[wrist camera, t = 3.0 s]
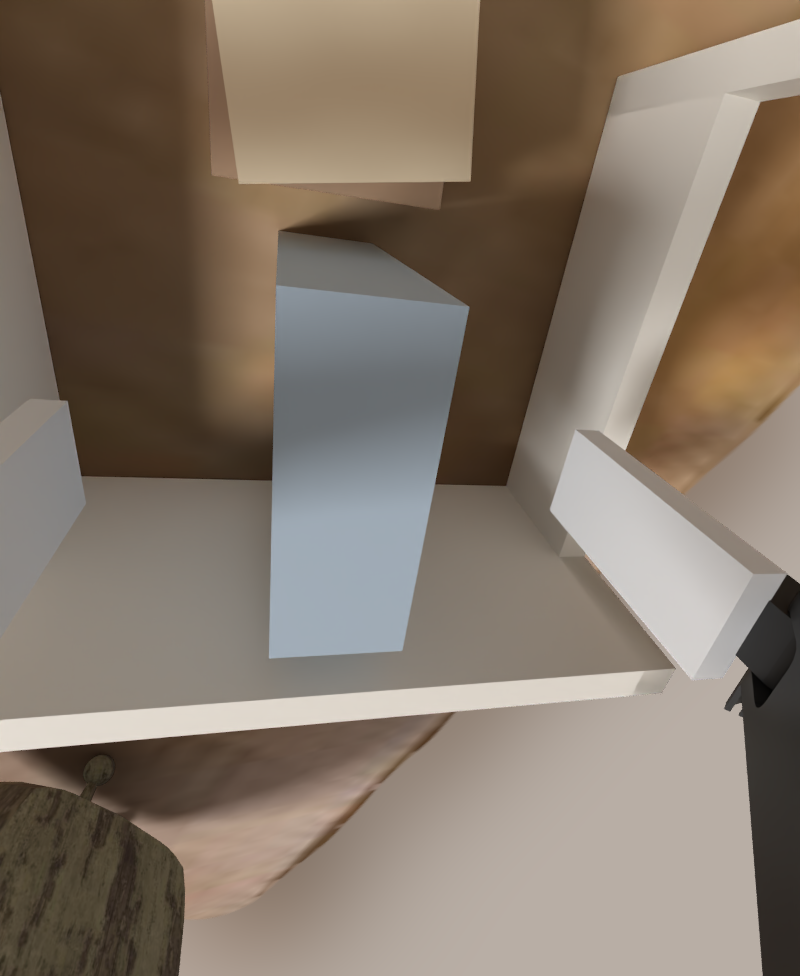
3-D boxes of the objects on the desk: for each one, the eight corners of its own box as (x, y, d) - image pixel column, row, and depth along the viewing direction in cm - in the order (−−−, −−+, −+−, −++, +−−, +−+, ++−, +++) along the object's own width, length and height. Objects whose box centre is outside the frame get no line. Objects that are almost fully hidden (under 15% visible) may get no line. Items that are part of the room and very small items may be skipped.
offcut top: (217, -18, 13) (202, -68, 10) (445, -7, 14) (482, -49, 11) (245, 183, 15) (239, 183, 13) (440, 182, 16) (470, 181, 14)
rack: (-88, -97, 13) (-1224, -960, 3) (646, 83, 19) (1075, -34, 9) (47, 499, 22) (-148, 765, 12) (521, 505, 28) (661, 692, 17)
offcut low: (216, -16, 15) (202, -63, 13) (437, 37, 17) (470, 6, 14) (222, 176, 18) (211, 175, 15) (415, 206, 20) (439, 210, 17)
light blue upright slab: (278, 230, 19) (276, 285, 9) (372, 243, 20) (469, 306, 10) (274, 451, 23) (268, 658, 13) (351, 454, 24) (402, 650, 14)
